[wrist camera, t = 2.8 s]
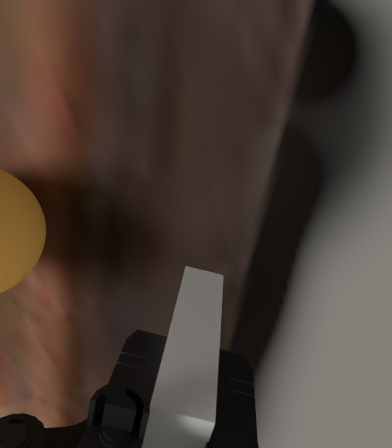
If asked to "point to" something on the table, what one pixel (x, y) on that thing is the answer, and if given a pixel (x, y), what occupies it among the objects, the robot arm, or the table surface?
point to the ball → (18, 231)
